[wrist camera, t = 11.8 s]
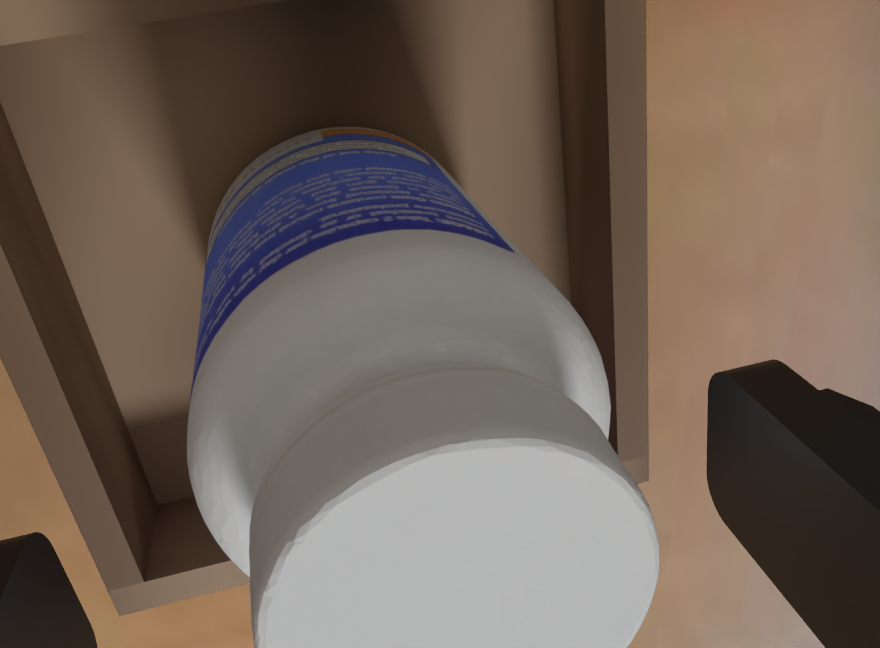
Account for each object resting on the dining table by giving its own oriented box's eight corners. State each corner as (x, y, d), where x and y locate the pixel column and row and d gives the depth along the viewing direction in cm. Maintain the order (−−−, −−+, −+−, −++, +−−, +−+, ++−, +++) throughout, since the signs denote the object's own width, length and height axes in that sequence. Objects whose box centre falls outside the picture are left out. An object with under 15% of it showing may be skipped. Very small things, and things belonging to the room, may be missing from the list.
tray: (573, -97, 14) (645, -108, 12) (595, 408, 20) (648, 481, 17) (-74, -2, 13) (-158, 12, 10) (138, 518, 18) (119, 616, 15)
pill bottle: (151, 273, 15) (17, 703, 6) (330, 57, 14) (449, 228, 5) (361, 413, 17) (465, 860, 9) (526, 236, 16) (824, 549, 8)
